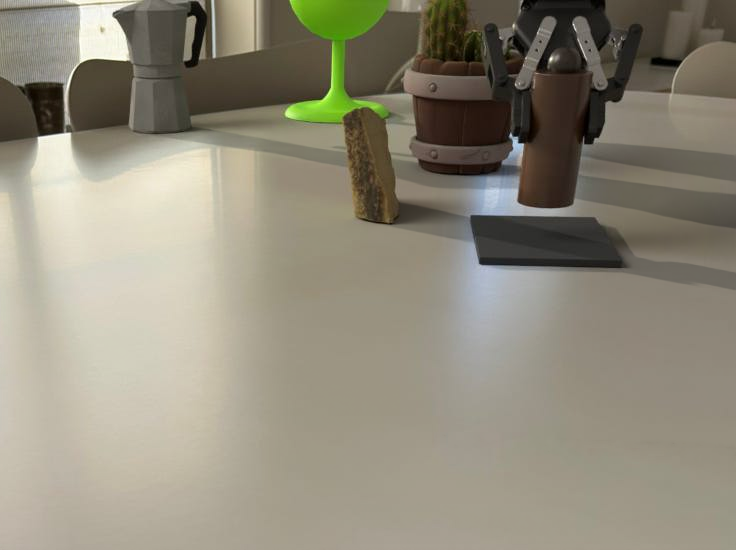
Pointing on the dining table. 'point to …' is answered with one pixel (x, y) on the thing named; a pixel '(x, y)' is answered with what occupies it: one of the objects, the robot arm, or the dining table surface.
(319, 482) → the dining table surface
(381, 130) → the rock
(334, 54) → the wineglass
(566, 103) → the pepper mill
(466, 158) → the flowerpot
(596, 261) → the mat
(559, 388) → the dining table surface
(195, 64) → the coffeepot
